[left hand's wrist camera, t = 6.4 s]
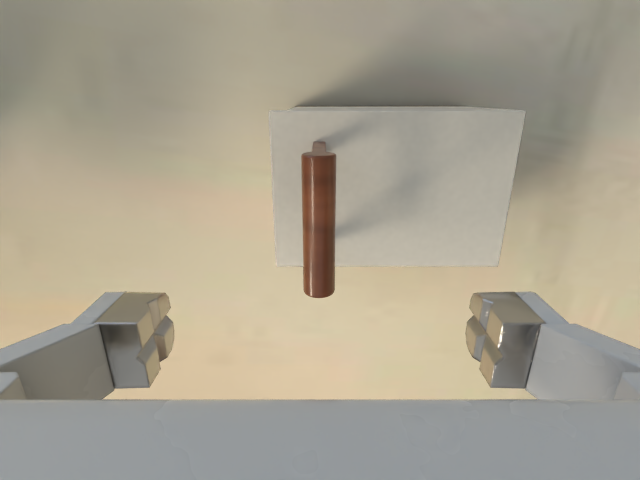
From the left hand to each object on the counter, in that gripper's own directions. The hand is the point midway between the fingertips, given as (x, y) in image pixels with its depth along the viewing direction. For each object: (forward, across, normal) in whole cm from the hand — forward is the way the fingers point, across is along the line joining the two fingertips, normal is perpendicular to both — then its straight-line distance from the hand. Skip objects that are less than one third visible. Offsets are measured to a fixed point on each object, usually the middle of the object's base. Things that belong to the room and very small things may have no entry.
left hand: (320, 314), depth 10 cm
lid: (+14, -4, 0) cm, 15 cm away
